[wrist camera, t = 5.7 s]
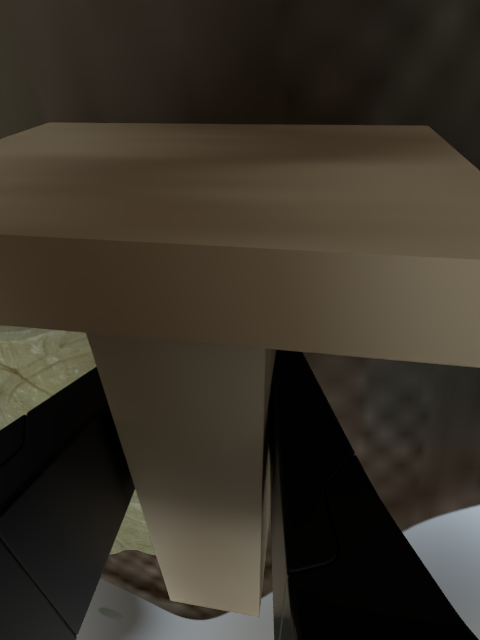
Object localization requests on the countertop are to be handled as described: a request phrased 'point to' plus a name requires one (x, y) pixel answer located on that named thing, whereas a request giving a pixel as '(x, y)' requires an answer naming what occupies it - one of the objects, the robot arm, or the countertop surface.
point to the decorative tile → (43, 382)
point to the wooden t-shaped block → (232, 294)
